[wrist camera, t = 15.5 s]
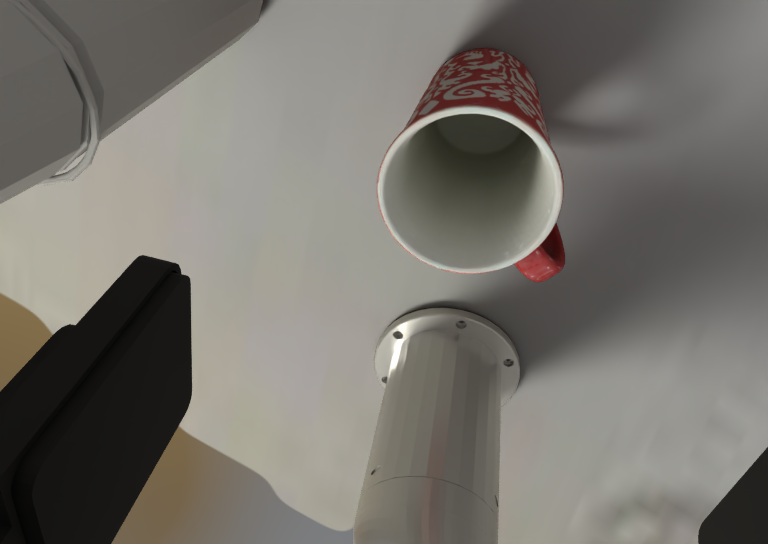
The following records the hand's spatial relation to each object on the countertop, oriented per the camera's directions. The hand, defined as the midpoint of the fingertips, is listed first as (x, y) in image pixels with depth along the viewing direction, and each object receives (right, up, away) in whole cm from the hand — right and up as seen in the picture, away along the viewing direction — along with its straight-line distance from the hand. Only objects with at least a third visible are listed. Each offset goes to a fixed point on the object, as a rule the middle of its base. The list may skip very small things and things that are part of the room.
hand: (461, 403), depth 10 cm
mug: (+6, +12, +32) cm, 34 cm away
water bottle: (-12, +20, +30) cm, 38 cm away
